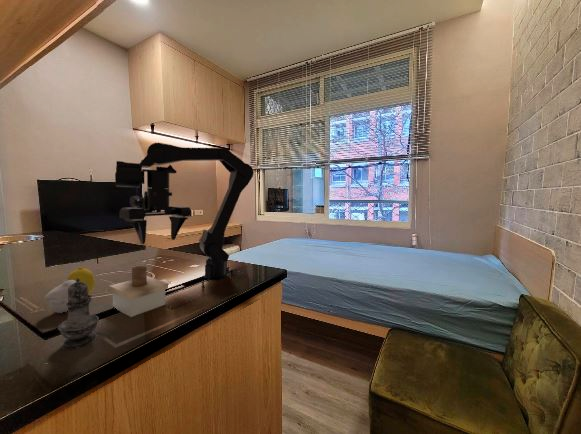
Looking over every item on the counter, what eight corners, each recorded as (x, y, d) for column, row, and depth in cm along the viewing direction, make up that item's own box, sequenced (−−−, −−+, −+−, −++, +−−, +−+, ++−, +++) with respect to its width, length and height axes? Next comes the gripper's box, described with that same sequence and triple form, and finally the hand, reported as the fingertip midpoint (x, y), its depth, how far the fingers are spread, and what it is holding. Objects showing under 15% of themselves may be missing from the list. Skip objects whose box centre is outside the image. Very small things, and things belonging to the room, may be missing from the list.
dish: (147, 298, 68) (146, 281, 67) (165, 306, 63) (165, 288, 63) (112, 309, 61) (112, 290, 60) (130, 319, 57) (130, 299, 56)
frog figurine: (89, 310, 60) (88, 280, 59) (48, 321, 54) (47, 289, 54) (81, 302, 64) (80, 275, 63) (42, 312, 58) (40, 282, 57)
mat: (164, 280, 81) (164, 279, 81) (184, 287, 76) (184, 286, 76) (130, 289, 73) (130, 288, 73) (151, 298, 67) (151, 296, 67)
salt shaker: (52, 353, 44) (49, 284, 43) (65, 335, 50) (63, 274, 48) (94, 346, 46) (92, 281, 45) (103, 330, 52) (101, 271, 51)
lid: (147, 280, 68) (147, 261, 67) (168, 288, 63) (168, 267, 63) (109, 290, 60) (108, 268, 60) (129, 300, 56) (128, 276, 55)
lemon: (79, 303, 63) (78, 271, 62) (61, 300, 64) (60, 269, 63) (100, 295, 68) (99, 265, 68) (83, 292, 70) (82, 263, 69)
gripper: (171, 188, 87) (171, 234, 88) (108, 186, 71) (110, 242, 73) (192, 189, 81) (192, 239, 83) (130, 187, 65) (130, 248, 67)
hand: (158, 241), depth 76 cm, fingers open, 9 cm apart
